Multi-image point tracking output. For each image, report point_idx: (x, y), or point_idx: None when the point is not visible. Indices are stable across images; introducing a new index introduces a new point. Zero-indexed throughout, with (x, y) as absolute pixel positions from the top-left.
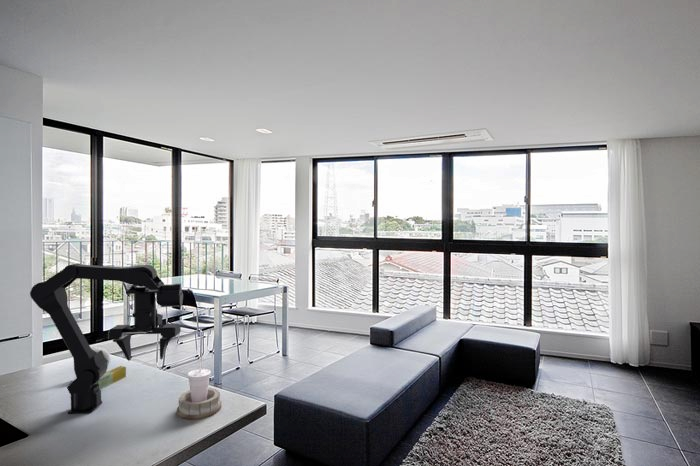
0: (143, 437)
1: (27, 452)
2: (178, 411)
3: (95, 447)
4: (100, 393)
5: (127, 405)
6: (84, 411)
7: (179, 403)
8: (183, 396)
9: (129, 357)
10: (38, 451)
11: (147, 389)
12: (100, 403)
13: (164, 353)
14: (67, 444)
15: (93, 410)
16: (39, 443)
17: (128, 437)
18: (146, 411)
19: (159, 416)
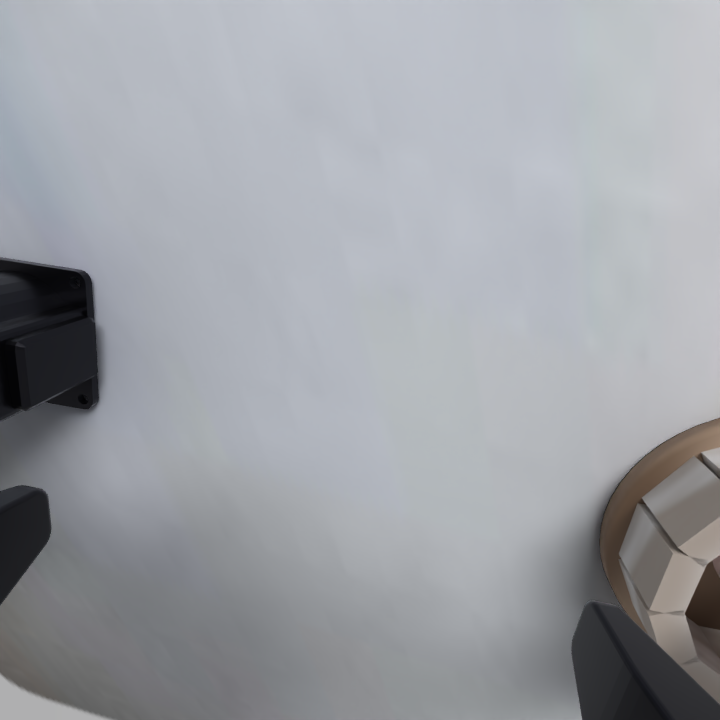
0: (452, 709)
1: (44, 664)
2: (617, 585)
3: (276, 712)
4: (43, 349)
5: (268, 356)
6: (58, 403)
7: (644, 613)
8: (688, 592)
9: (9, 570)
10: (79, 670)
11: (327, 79)
12: (94, 332)
13: (695, 701)
14: (156, 659)
15: (97, 385)
16: (44, 619)
17: (386, 689)
18: (410, 471)
19: (497, 551)
